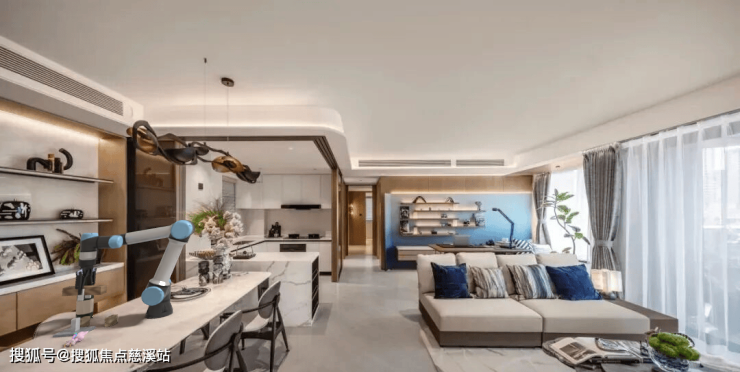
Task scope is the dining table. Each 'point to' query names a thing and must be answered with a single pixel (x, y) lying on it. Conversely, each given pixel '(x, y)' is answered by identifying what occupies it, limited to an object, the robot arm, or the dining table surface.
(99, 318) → the dining table surface
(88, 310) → the wine bottle
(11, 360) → the dining table surface
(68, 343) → the rabbit figure
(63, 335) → the fulcrum
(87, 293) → the walnut beam
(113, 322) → the board
